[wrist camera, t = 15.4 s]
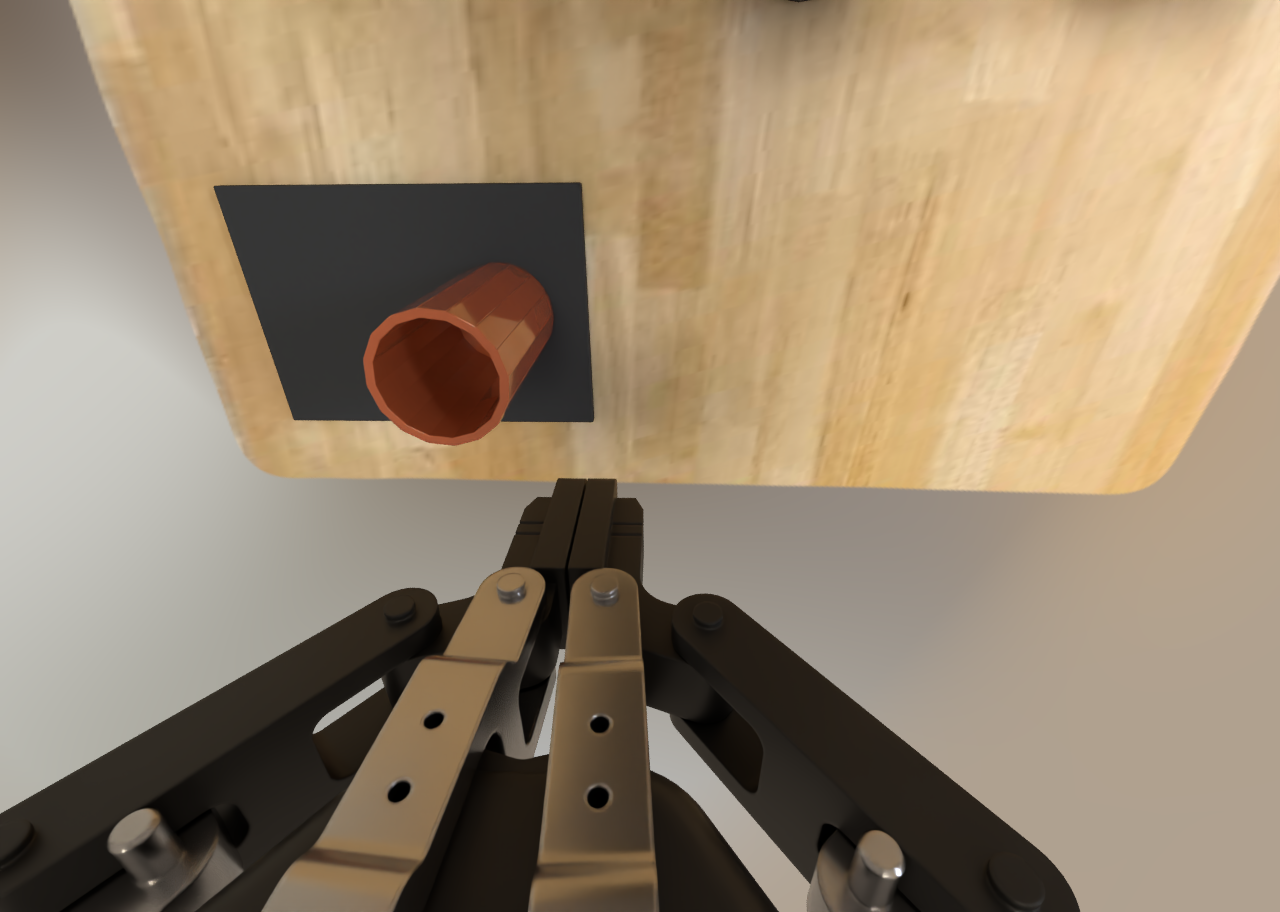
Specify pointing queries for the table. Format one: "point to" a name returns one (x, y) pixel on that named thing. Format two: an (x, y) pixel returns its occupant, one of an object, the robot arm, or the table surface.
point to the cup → (459, 353)
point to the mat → (404, 279)
